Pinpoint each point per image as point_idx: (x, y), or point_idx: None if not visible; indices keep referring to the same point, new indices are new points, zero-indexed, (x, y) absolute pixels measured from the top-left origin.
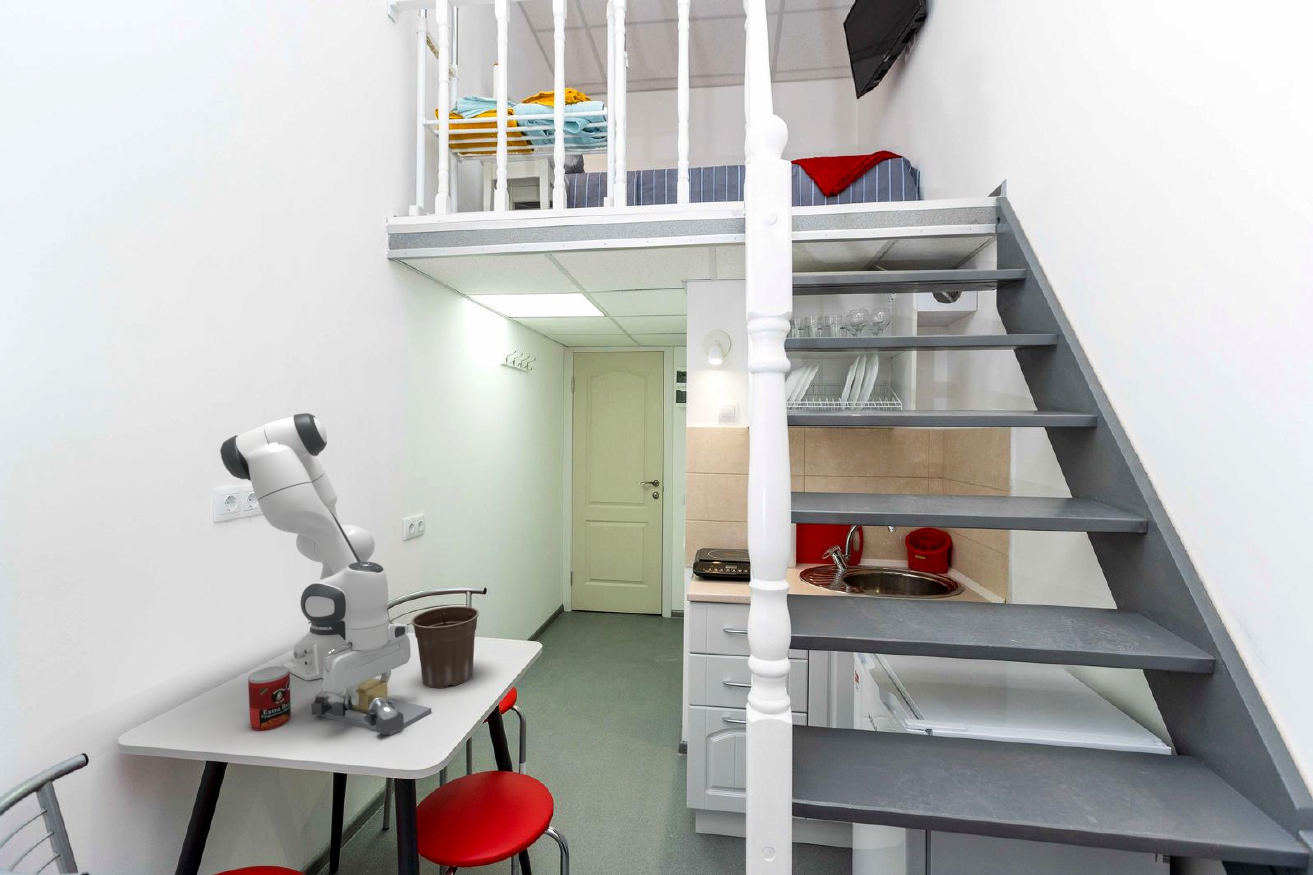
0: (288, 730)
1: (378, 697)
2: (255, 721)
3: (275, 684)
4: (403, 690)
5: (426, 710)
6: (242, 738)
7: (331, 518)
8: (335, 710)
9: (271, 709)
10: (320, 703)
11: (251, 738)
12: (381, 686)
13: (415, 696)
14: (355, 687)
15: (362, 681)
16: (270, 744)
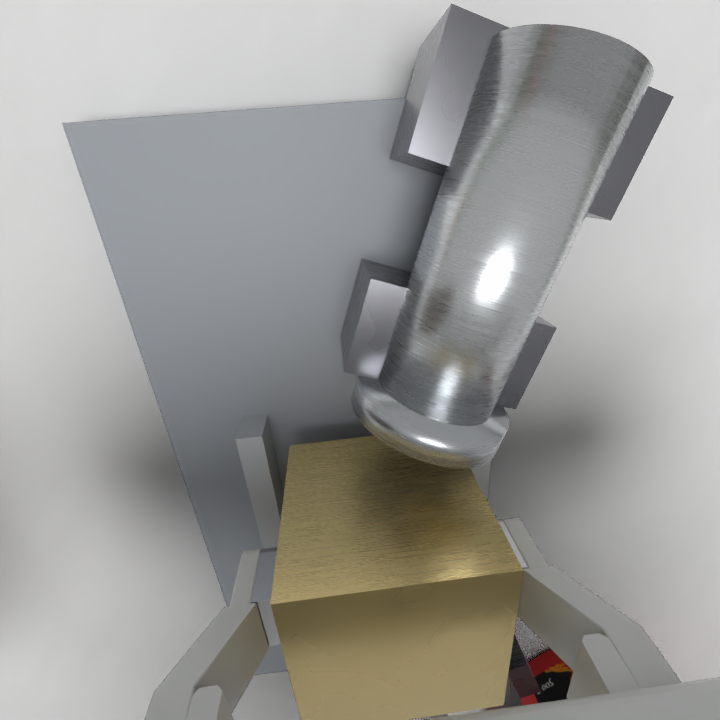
0: (603, 597)
1: (447, 446)
2: None
3: None
4: (77, 564)
5: (119, 122)
6: (684, 647)
7: None
8: None
9: None
10: (523, 670)
11: (680, 630)
12: (345, 569)
13: (56, 458)
14: (632, 666)
15: (608, 718)
16: (712, 555)
